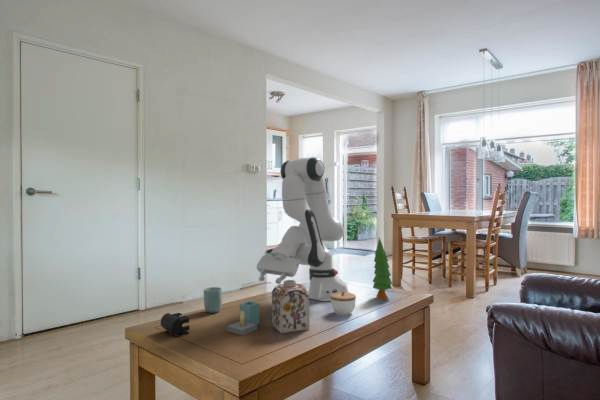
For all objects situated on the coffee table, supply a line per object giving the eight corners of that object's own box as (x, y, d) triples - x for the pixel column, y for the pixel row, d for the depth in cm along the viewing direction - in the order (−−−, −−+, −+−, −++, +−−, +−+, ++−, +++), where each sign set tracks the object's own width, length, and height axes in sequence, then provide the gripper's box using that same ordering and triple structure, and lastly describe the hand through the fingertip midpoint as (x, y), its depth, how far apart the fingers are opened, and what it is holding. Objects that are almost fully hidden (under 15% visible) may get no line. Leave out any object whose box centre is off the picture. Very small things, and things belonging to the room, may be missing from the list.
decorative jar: (271, 324, 157) (270, 279, 157) (299, 321, 161) (298, 276, 161) (280, 334, 146) (280, 285, 145) (310, 330, 150) (309, 282, 150)
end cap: (160, 332, 150) (160, 314, 150) (178, 327, 155) (177, 310, 155) (171, 338, 143) (171, 320, 143) (190, 334, 147) (189, 315, 147)
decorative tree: (369, 296, 198) (368, 236, 198) (385, 294, 202) (384, 235, 201) (380, 301, 189) (380, 238, 189) (397, 299, 193) (396, 237, 192)
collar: (249, 320, 162) (249, 301, 162) (259, 322, 159) (259, 303, 159) (240, 324, 158) (239, 304, 158) (249, 326, 155) (249, 306, 155)
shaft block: (242, 325, 156) (242, 307, 156) (257, 329, 151) (257, 311, 151) (227, 331, 150) (227, 312, 150) (242, 335, 145) (242, 316, 145)
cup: (217, 314, 171) (217, 291, 171) (200, 313, 173) (200, 290, 173) (224, 309, 179) (224, 287, 179) (208, 308, 181) (208, 286, 180)
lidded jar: (353, 318, 164) (352, 295, 164) (328, 315, 167) (327, 293, 167) (358, 310, 174) (357, 289, 174) (334, 309, 177) (333, 288, 177)
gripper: (305, 262, 171) (291, 289, 163) (269, 258, 184) (255, 283, 176) (299, 253, 168) (284, 280, 160) (263, 249, 180) (248, 274, 172)
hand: (268, 281), depth 168 cm, fingers open, 8 cm apart
